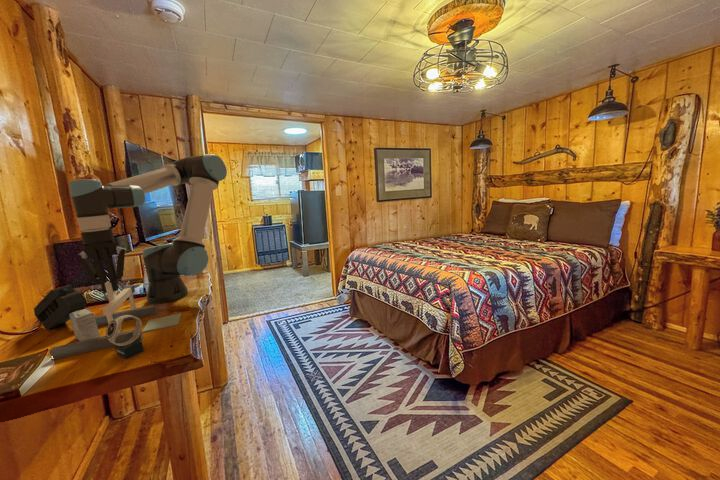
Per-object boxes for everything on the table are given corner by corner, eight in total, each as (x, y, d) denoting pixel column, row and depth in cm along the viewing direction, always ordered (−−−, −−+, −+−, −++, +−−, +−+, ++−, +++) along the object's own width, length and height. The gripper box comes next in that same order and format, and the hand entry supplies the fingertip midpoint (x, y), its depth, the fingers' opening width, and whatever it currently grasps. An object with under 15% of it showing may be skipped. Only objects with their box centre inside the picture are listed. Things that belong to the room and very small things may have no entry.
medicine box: (100, 337, 95) (94, 312, 94) (82, 344, 92) (75, 318, 90) (92, 332, 100) (86, 308, 98) (74, 338, 96) (68, 313, 95)
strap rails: (157, 312, 113) (155, 304, 113) (141, 339, 92) (139, 330, 91) (87, 326, 105) (85, 318, 104) (51, 360, 83) (48, 350, 83)
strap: (138, 307, 111) (133, 284, 109) (118, 334, 89) (111, 306, 88) (130, 308, 110) (125, 286, 108) (108, 336, 88) (101, 308, 87)
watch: (108, 358, 82) (99, 321, 80) (140, 344, 89) (133, 309, 87) (118, 363, 79) (108, 325, 77) (150, 348, 86) (142, 312, 84)
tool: (80, 321, 100) (52, 285, 99) (51, 347, 105) (24, 313, 105) (99, 313, 106) (72, 280, 105) (70, 338, 111) (45, 306, 110)
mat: (181, 314, 110) (181, 313, 109) (177, 324, 101) (177, 323, 100) (149, 320, 106) (149, 319, 106) (142, 332, 97) (142, 331, 97)
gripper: (125, 226, 99) (140, 293, 103) (75, 231, 94) (93, 301, 98) (117, 228, 92) (134, 300, 96) (63, 234, 87) (83, 309, 91)
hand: (113, 300), depth 97 cm, fingers closed
